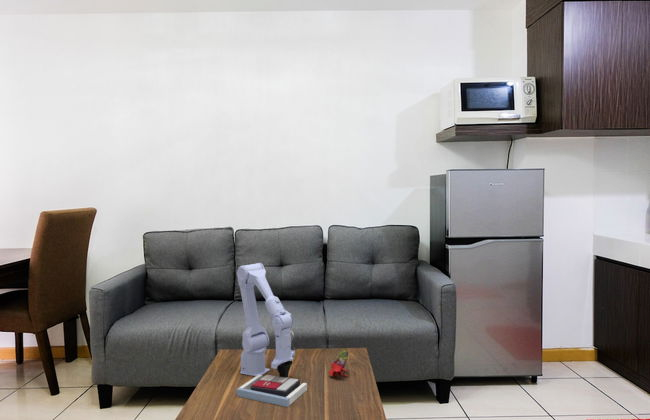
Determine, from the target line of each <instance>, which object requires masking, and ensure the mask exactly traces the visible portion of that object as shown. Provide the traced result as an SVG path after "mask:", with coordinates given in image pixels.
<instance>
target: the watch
mask: <svg viewBox="0 0 650 420" xmlns="http://www.w3.org/2000/svg"><path fill="white" fill-rule="evenodd" d="M290 332H291V342H292V341H293V338H294V336H295V333H294V332H293V330H292V329H290ZM291 350H292V351H295V352H296V349H295V346H291ZM292 357H293V358H294V356H292Z"/></svg>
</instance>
